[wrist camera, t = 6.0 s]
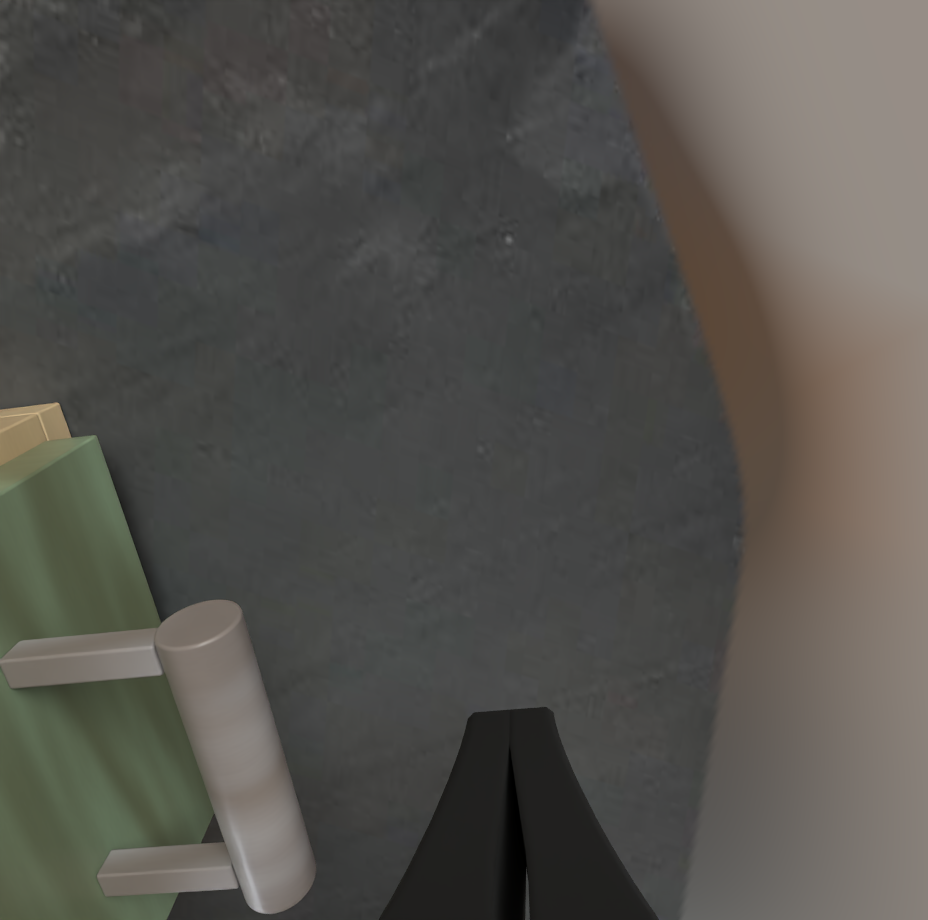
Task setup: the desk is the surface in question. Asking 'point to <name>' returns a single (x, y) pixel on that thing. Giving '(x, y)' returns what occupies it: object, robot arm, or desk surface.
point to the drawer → (125, 720)
